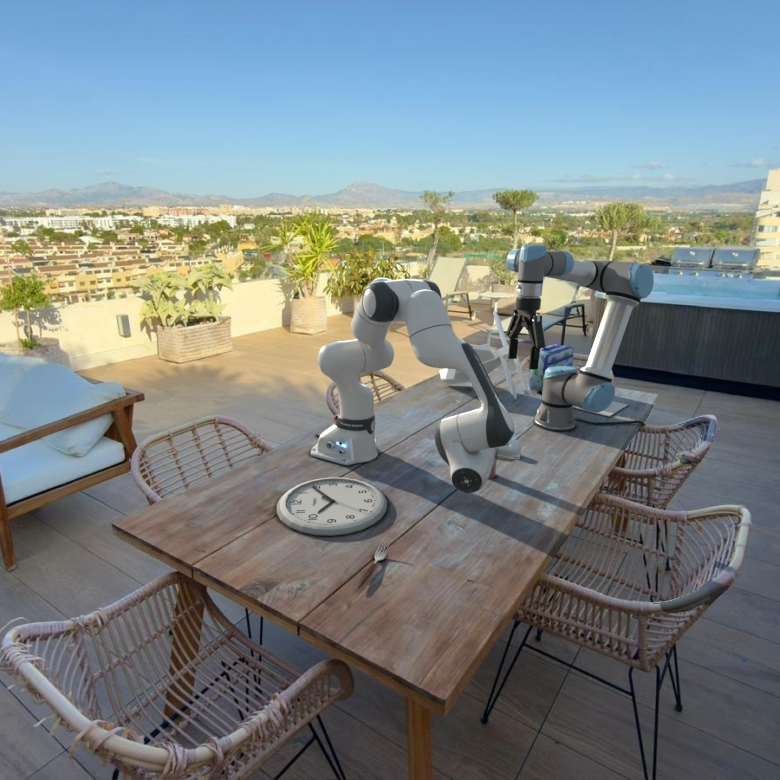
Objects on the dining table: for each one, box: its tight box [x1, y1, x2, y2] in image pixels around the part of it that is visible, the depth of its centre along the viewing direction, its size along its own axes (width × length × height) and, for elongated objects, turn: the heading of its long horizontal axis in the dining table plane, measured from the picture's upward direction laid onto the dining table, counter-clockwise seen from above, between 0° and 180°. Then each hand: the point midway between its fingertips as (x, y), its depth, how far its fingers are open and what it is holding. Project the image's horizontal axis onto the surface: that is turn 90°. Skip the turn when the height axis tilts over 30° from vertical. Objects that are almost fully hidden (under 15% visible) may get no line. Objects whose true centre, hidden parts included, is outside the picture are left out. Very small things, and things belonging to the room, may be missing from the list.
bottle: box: [488, 460, 498, 479], centre depth 159 cm, size 4×4×19 cm
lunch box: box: [528, 344, 574, 393], centre depth 247 cm, size 26×11×21 cm, turn 134°
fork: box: [357, 541, 391, 589], centre depth 116 cm, size 3×16×2 cm, turn 160°
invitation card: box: [573, 400, 629, 418], centre depth 226 cm, size 21×1×15 cm
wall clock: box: [276, 476, 388, 537], centre depth 142 cm, size 30×2×30 cm
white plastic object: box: [438, 310, 531, 400], centre depth 245 cm, size 37×45×31 cm
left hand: (486, 434), depth 146 cm, fingers open, 8 cm apart
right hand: (522, 363), depth 167 cm, fingers open, 13 cm apart
